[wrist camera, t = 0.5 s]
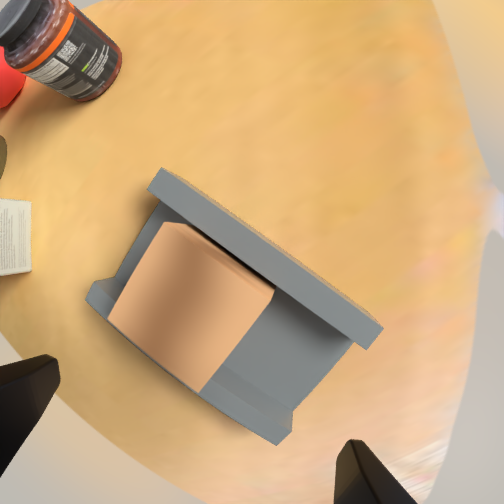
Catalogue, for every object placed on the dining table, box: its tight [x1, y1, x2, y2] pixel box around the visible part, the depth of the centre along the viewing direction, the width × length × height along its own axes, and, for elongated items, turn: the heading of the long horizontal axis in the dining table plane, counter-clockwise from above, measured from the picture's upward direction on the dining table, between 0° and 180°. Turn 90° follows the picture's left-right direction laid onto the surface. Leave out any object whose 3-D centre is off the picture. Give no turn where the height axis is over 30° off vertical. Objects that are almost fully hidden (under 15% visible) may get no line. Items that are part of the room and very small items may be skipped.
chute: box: [85, 167, 384, 446], centre depth 18 cm, size 15×10×4 cm, turn 54°
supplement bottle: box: [0, 0, 122, 102], centre depth 15 cm, size 6×6×11 cm
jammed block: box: [107, 222, 276, 393], centre depth 17 cm, size 6×6×5 cm
